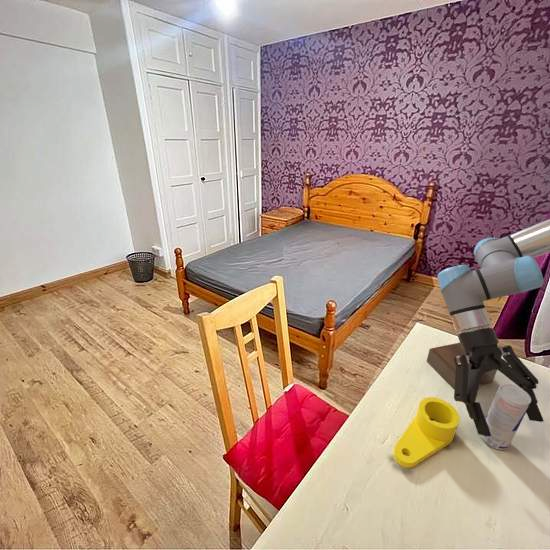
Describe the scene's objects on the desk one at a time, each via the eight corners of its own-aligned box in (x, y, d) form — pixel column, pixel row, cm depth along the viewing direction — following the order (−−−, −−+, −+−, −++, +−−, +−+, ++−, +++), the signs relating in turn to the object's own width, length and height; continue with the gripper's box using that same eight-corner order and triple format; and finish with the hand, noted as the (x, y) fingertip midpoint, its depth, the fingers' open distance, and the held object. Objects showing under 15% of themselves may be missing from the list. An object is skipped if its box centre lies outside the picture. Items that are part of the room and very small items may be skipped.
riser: (459, 354, 96) (463, 341, 94) (492, 382, 85) (497, 368, 83) (426, 361, 93) (429, 348, 91) (455, 391, 83) (460, 377, 81)
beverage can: (512, 454, 67) (536, 407, 61) (482, 447, 69) (503, 400, 62) (504, 432, 72) (526, 386, 65) (477, 425, 74) (495, 380, 67)
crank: (426, 408, 78) (431, 391, 76) (460, 432, 72) (466, 415, 70) (382, 448, 69) (385, 430, 67) (415, 479, 63) (421, 461, 60)
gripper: (504, 324, 78) (540, 413, 72) (418, 340, 73) (449, 438, 67) (531, 318, 71) (574, 417, 65) (438, 336, 66) (475, 445, 60)
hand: (511, 428), depth 66 cm, fingers open, 13 cm apart
